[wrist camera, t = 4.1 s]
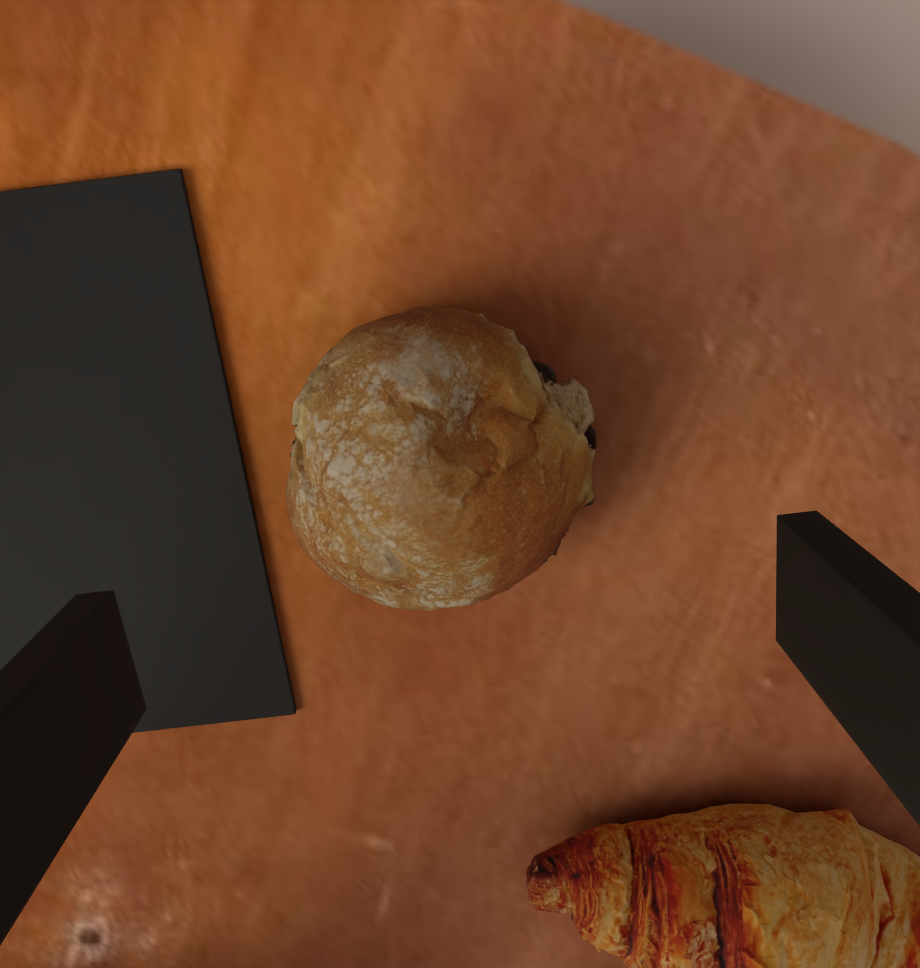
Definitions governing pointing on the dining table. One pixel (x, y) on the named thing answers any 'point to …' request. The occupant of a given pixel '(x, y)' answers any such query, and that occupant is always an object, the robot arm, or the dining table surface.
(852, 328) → the dining table surface
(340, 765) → the dining table surface
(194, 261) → the placemat
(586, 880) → the croissant
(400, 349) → the bread roll
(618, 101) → the dining table surface
